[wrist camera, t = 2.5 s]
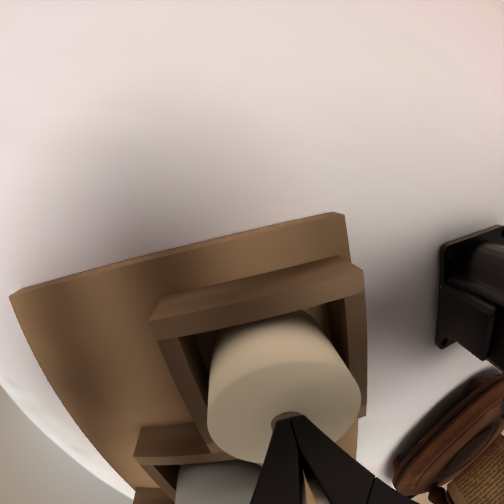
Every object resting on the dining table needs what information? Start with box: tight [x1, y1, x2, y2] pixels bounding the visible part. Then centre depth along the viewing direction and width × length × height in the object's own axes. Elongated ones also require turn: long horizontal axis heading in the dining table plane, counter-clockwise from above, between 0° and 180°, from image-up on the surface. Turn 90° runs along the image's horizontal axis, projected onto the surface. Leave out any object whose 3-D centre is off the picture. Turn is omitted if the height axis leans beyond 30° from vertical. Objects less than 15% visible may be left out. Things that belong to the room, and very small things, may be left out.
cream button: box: [207, 310, 361, 464], centre depth 9 cm, size 5×5×4 cm
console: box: [9, 212, 367, 504], centre depth 12 cm, size 16×23×3 cm
